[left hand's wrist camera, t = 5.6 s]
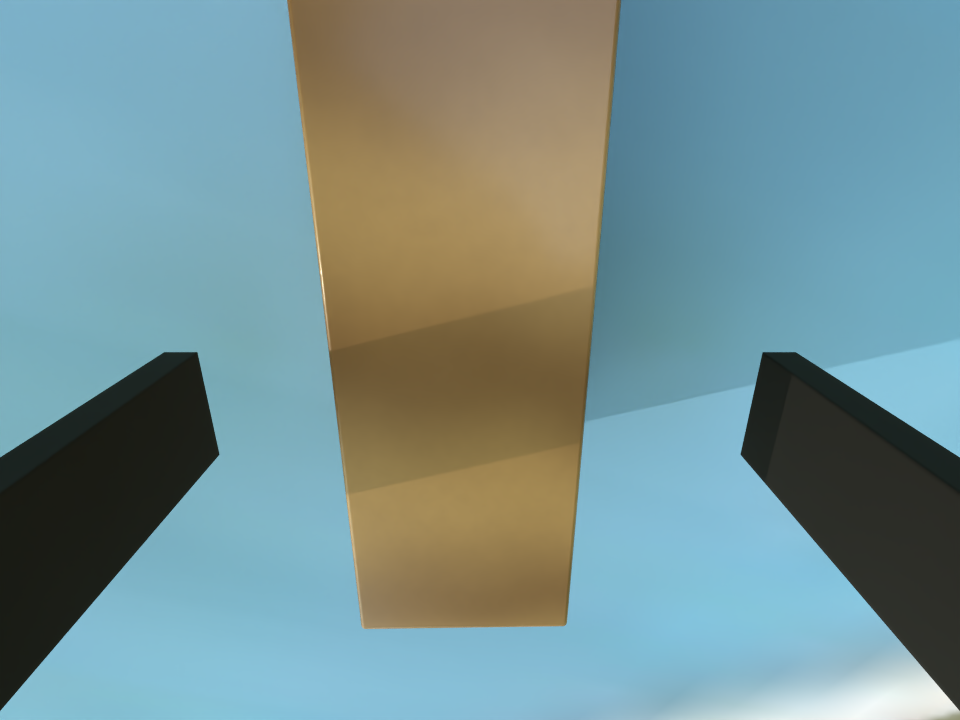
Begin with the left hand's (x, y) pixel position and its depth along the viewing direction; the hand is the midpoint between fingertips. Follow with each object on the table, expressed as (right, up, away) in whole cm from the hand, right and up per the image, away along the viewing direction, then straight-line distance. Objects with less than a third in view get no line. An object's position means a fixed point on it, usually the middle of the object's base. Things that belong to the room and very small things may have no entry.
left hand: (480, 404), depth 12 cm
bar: (0, +28, -6) cm, 29 cm away
